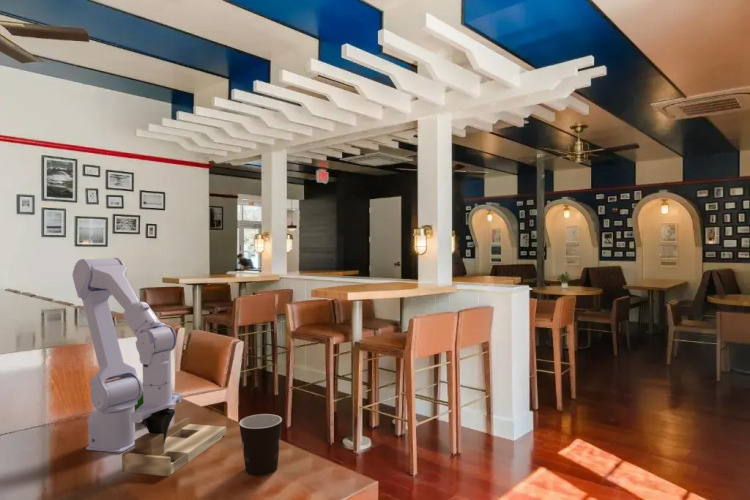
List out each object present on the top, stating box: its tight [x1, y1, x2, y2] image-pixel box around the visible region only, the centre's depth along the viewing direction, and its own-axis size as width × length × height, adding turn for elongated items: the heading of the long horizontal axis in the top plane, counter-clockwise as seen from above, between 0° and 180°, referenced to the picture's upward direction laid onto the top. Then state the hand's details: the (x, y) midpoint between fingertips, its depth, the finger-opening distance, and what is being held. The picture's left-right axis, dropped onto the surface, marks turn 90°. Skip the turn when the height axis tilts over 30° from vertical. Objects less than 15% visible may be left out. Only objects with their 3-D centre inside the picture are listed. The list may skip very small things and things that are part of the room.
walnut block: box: [134, 432, 164, 456], centre depth 110 cm, size 4×4×4 cm
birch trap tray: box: [121, 417, 227, 477], centre depth 117 cm, size 11×23×4 cm, turn 167°
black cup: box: [238, 413, 283, 477], centre depth 109 cm, size 12×9×10 cm
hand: (158, 444), depth 113 cm, fingers closed
